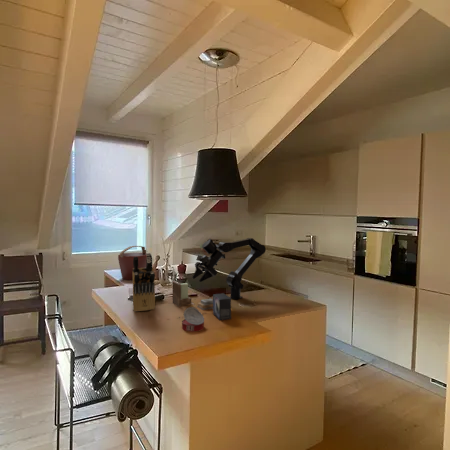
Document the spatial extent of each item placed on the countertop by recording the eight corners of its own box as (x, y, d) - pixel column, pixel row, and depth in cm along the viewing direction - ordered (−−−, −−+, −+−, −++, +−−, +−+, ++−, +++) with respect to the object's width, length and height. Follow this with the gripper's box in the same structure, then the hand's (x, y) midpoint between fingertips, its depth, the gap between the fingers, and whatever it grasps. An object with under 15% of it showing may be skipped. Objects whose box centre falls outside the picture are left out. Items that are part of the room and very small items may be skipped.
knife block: (132, 318, 162) (132, 255, 161) (132, 299, 196) (132, 247, 195) (156, 316, 165) (156, 254, 164) (152, 298, 199) (152, 246, 198)
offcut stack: (210, 306, 183) (210, 297, 183) (216, 309, 177) (216, 300, 177) (197, 308, 179) (197, 299, 179) (203, 311, 173) (203, 302, 173)
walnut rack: (188, 302, 191) (189, 279, 190) (195, 306, 183) (195, 282, 183) (172, 304, 186) (172, 281, 186) (178, 308, 178) (178, 284, 178)
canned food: (199, 334, 154) (209, 315, 155) (198, 340, 144) (209, 319, 145) (178, 322, 154) (188, 303, 155) (175, 328, 144) (186, 307, 145)
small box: (212, 314, 169) (212, 293, 169) (223, 312, 171) (224, 292, 171) (218, 320, 159) (219, 299, 159) (231, 319, 162) (231, 298, 161)
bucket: (142, 274, 273) (142, 243, 272) (155, 278, 256) (155, 246, 255) (113, 277, 258) (113, 245, 257) (125, 282, 241) (124, 248, 240)
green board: (186, 302, 186) (186, 283, 186) (188, 303, 185) (188, 283, 184) (179, 303, 184) (179, 283, 184) (181, 304, 183) (181, 284, 182)
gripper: (198, 248, 198) (180, 268, 193) (212, 251, 182) (193, 273, 177) (209, 260, 202) (193, 280, 197) (224, 265, 186) (207, 286, 181)
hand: (196, 279), depth 188 cm, fingers open, 9 cm apart
